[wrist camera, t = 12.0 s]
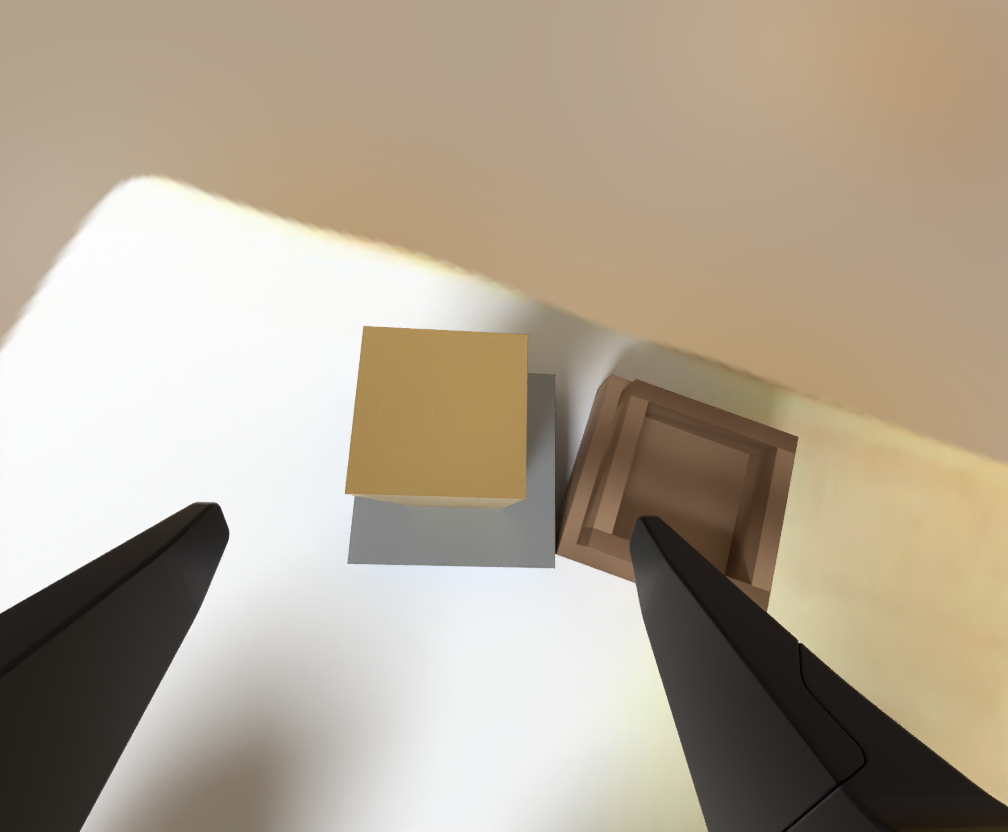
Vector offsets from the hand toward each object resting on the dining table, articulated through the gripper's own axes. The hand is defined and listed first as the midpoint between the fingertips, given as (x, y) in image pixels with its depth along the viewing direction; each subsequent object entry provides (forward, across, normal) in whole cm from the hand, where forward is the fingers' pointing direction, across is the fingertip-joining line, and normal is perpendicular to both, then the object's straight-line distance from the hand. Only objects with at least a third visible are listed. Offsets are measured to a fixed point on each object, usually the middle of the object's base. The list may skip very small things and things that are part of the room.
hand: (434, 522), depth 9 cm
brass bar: (+9, 0, +5) cm, 10 cm away
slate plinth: (+11, 0, +7) cm, 13 cm away
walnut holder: (+10, -10, +8) cm, 16 cm away
